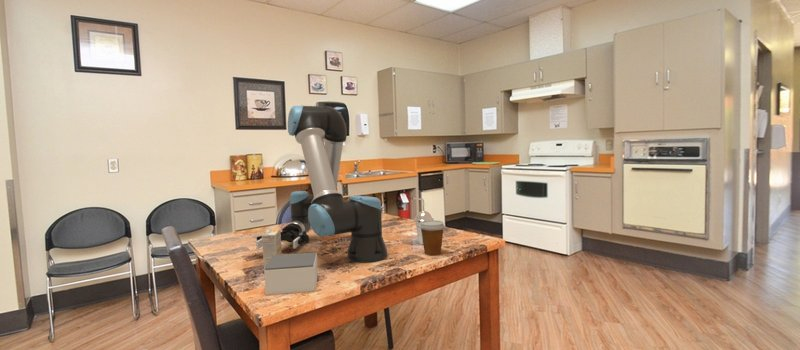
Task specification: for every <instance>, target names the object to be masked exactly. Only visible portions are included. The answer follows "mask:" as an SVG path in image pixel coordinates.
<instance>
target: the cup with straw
mask: <svg viewBox="0 0 800 350" xmlns="http://www.w3.org/2000/svg"><path fill="white" fill-rule="evenodd" d="M411 200H416V201H422V210H421V211H419V212H417V214H416V215H415V217H414V219H413V222H414V223H415V227H416V232H417V239H418V244H419V243H420V244H419V245H422V244H423V239H422V232H421V228H420V225H421V222H423V221H430V220H434V218H433V216H432V215H431V213H430V212H428V211H426V210H425V199H424V198H421V197H412V198H411Z"/></svg>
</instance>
